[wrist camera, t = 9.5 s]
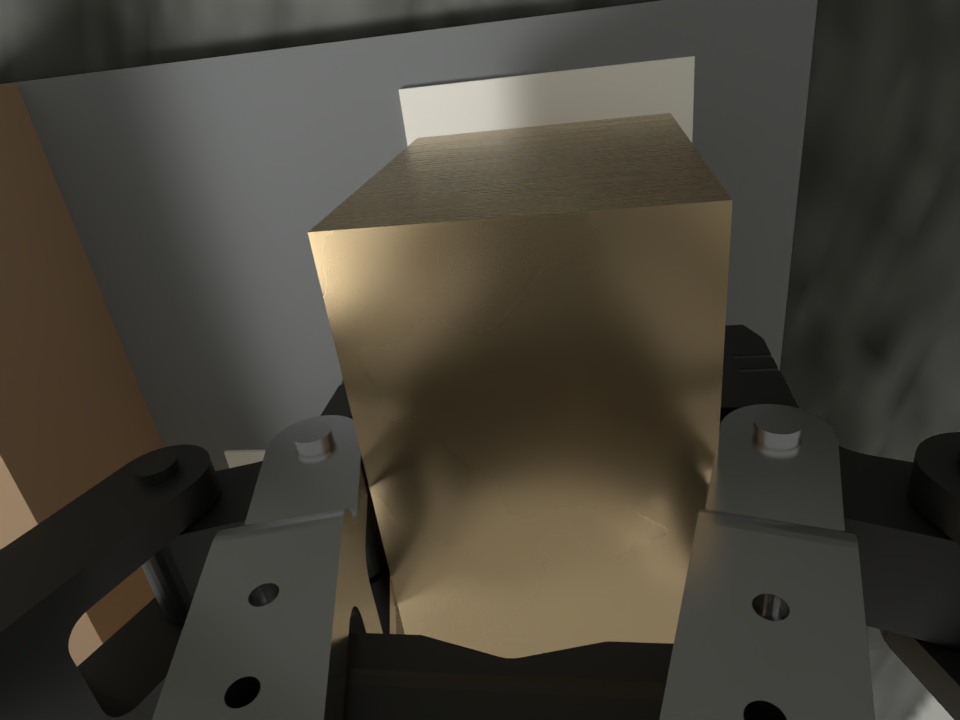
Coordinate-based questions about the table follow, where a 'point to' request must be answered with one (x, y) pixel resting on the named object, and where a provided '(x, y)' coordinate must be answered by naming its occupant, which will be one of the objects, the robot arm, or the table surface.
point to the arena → (314, 217)
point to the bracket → (535, 375)
